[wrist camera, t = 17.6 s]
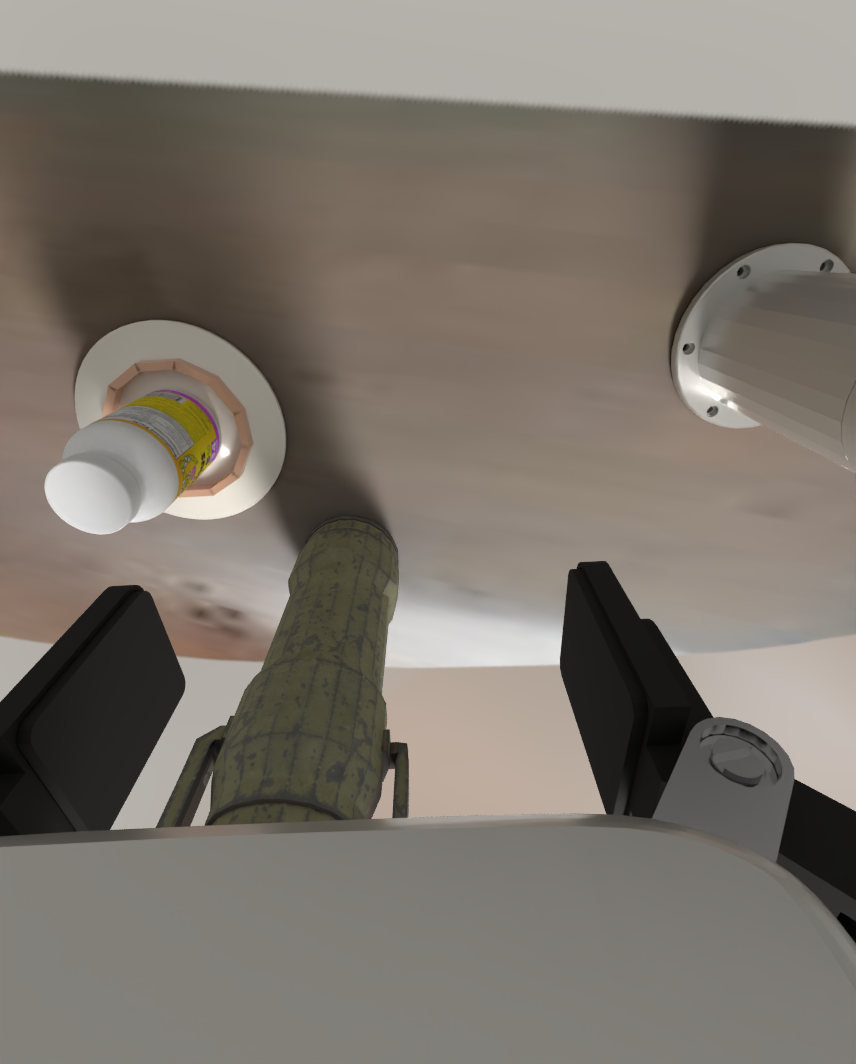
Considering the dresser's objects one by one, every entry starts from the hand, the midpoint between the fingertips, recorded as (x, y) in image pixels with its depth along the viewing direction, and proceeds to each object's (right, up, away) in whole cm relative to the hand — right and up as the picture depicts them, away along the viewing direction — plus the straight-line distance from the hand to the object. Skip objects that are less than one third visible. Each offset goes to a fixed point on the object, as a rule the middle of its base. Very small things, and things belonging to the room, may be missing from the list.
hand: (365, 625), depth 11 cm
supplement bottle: (-18, +10, +28) cm, 35 cm away
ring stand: (-18, +10, +29) cm, 35 cm away
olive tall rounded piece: (-6, 0, +35) cm, 35 cm away
